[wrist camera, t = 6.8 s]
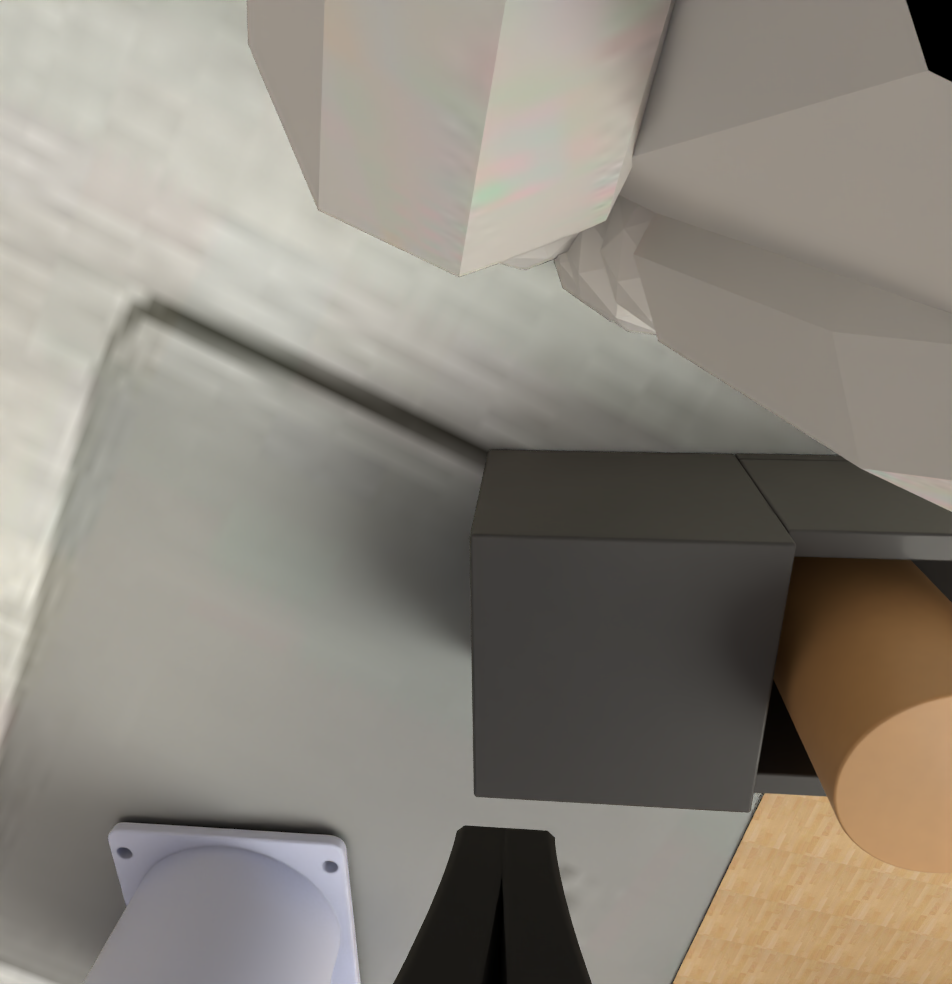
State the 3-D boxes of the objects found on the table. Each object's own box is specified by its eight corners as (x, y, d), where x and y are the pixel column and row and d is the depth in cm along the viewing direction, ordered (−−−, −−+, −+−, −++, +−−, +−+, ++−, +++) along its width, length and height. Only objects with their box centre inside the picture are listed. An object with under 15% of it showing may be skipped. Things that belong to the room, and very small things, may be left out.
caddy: (976, 686, 20) (1102, 834, 16) (489, 665, 21) (473, 798, 17) (1044, 458, 18) (1219, 555, 13) (487, 448, 19) (469, 534, 14)
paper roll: (725, 642, 20) (879, 655, 20) (811, 862, 14) (1041, 885, 13) (753, 506, 18) (920, 518, 18) (864, 682, 12) (1126, 703, 12)
